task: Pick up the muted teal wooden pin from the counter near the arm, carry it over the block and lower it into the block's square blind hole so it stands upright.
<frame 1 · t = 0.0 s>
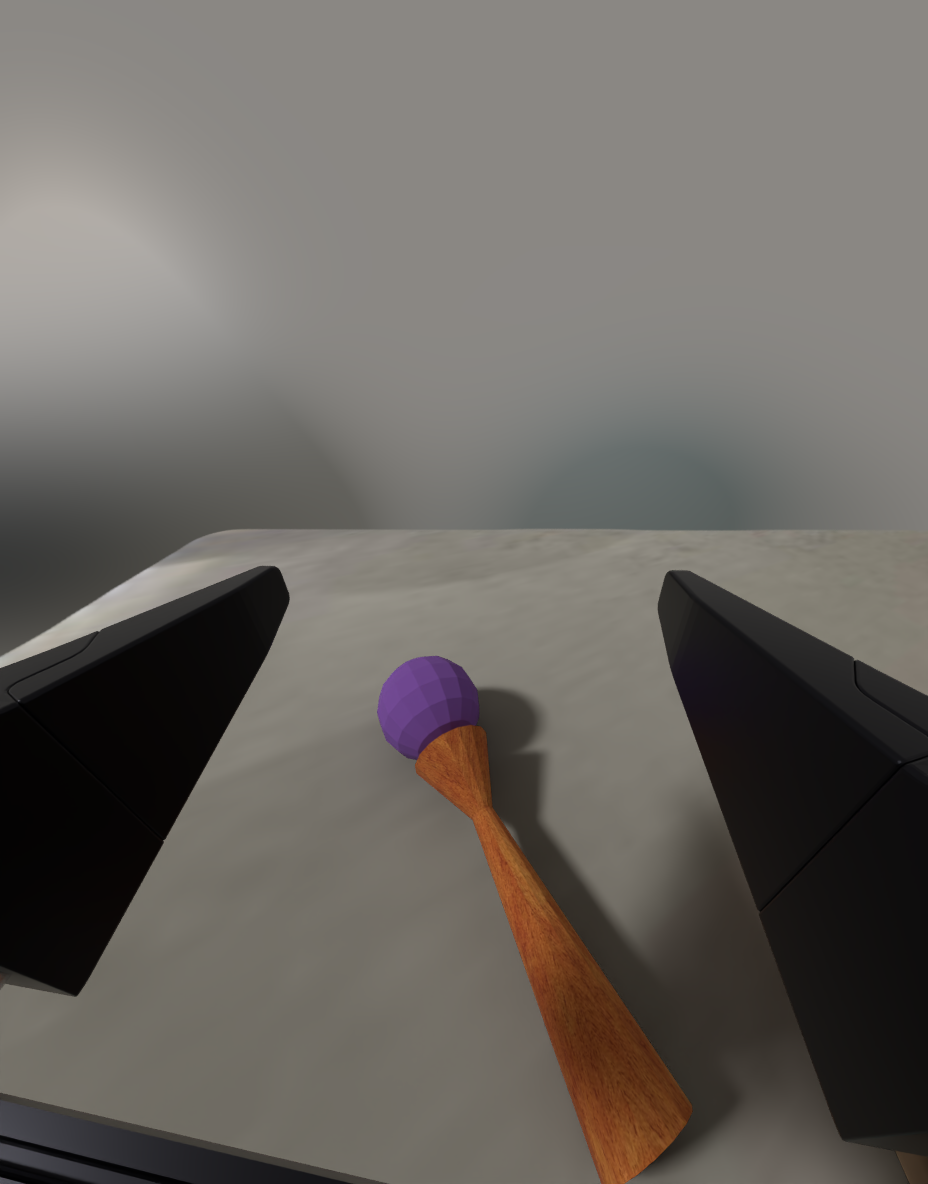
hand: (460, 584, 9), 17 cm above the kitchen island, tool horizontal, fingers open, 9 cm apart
wooden maraca: (487, 845, 20), on the kitchen island
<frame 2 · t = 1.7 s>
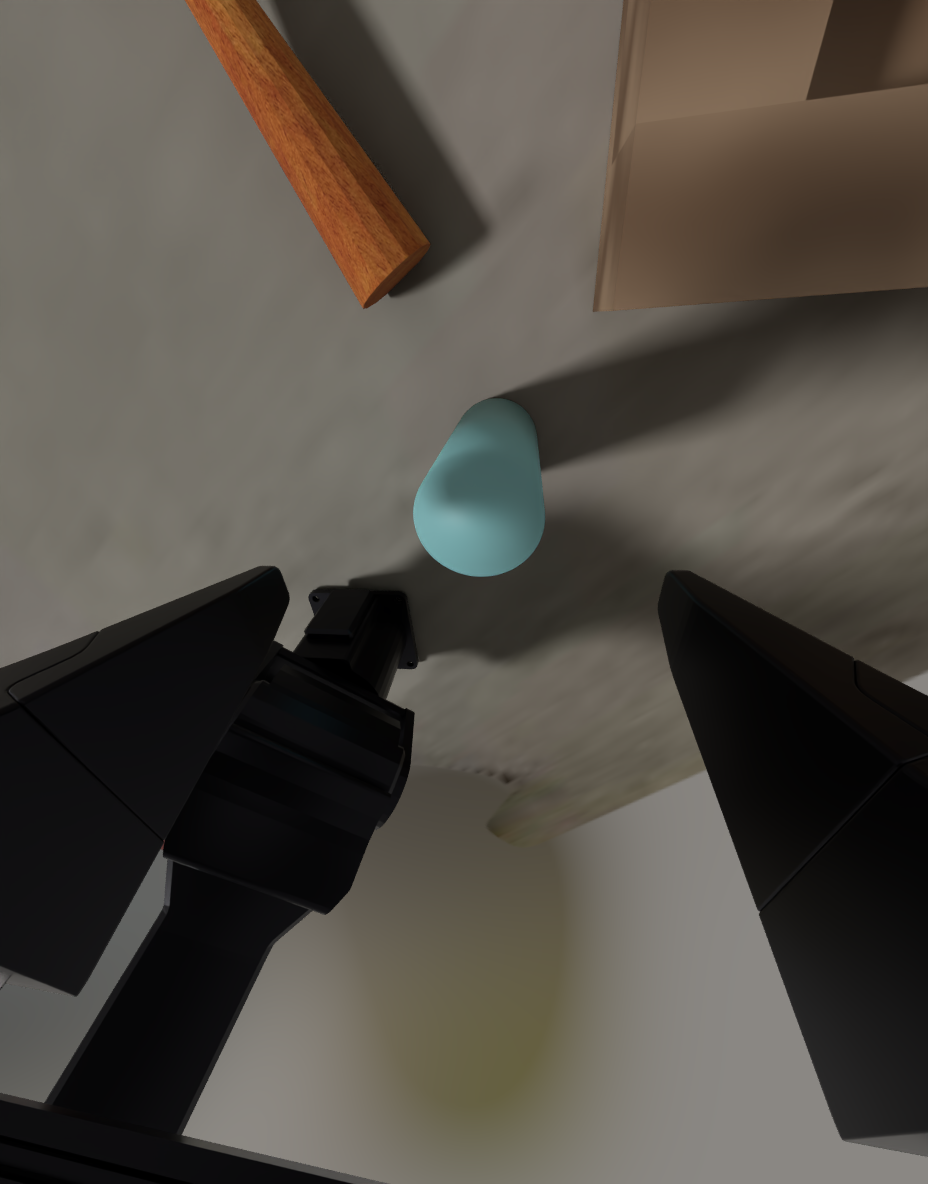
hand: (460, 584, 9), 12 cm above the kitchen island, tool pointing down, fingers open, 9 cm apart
hole block: (854, 17, 11), on the kitchen island
pin: (495, 443, 19), on the kitchen island
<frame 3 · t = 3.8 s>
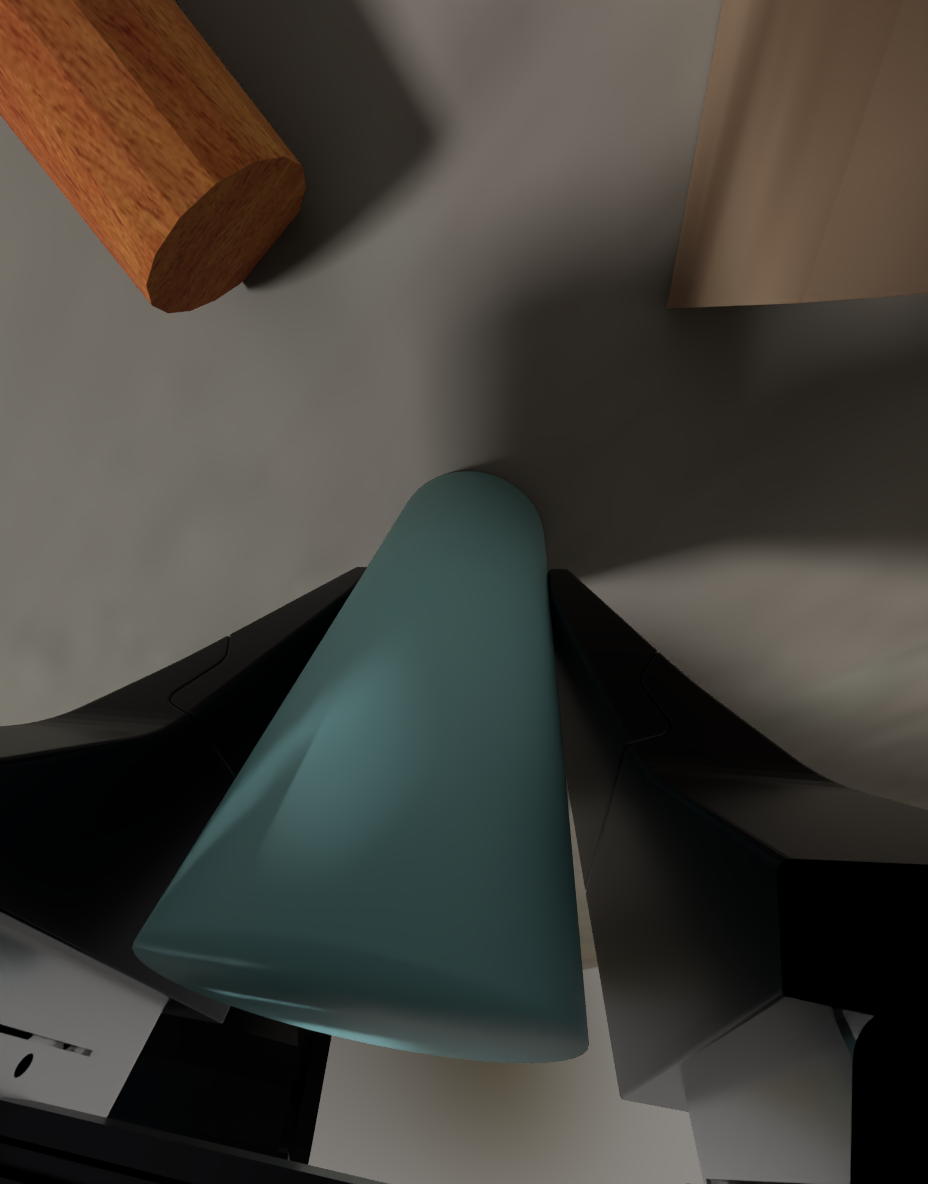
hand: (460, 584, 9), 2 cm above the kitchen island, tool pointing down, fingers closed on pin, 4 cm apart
pin: (470, 543, 11), on the kitchen island, touching gripper
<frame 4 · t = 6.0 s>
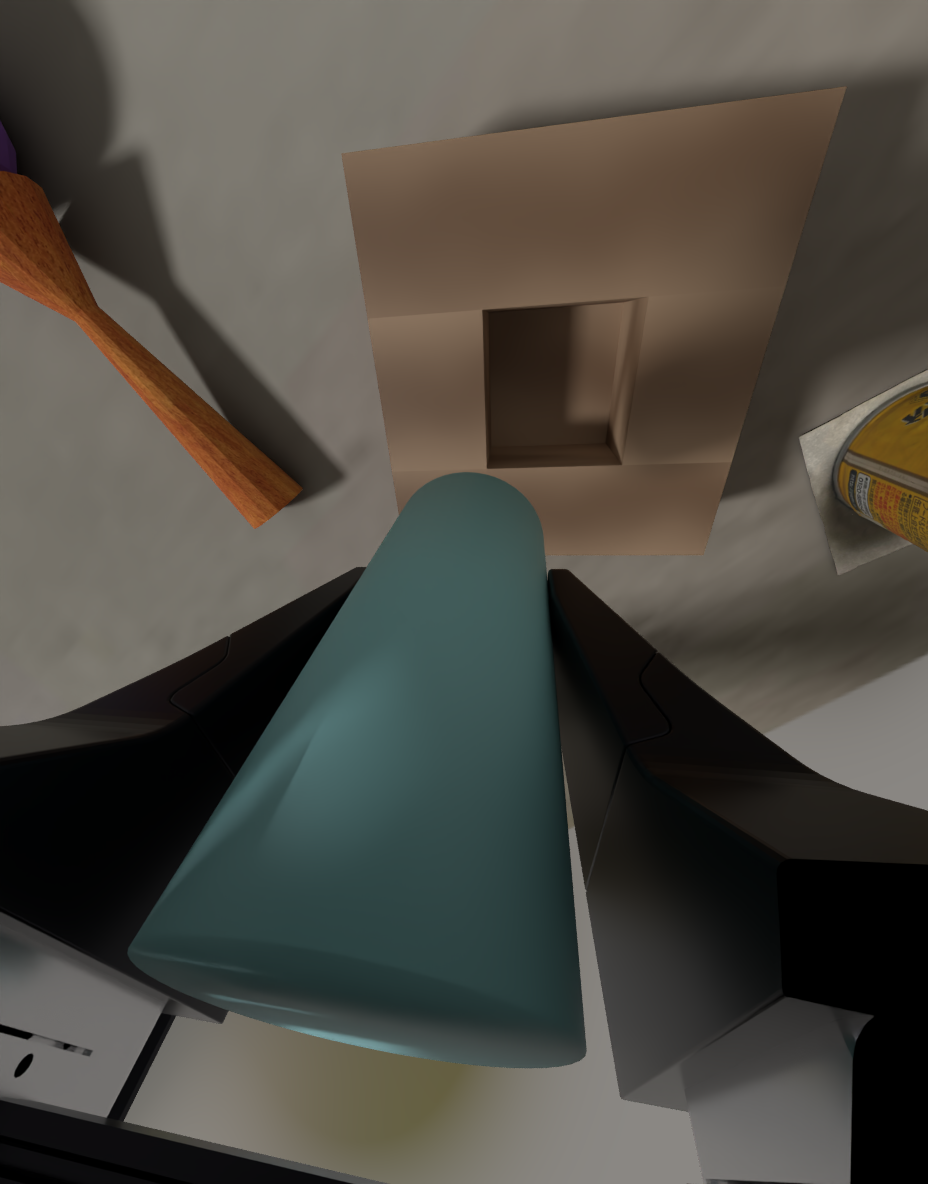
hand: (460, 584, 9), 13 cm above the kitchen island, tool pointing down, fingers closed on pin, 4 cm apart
hole block: (549, 379, 18), on the kitchen island
wooden maraca: (142, 322, 19), on the kitchen island
condiment: (904, 468, 18), on the kitchen island
pin: (469, 544, 11), point 11 cm above the kitchen island, touching gripper
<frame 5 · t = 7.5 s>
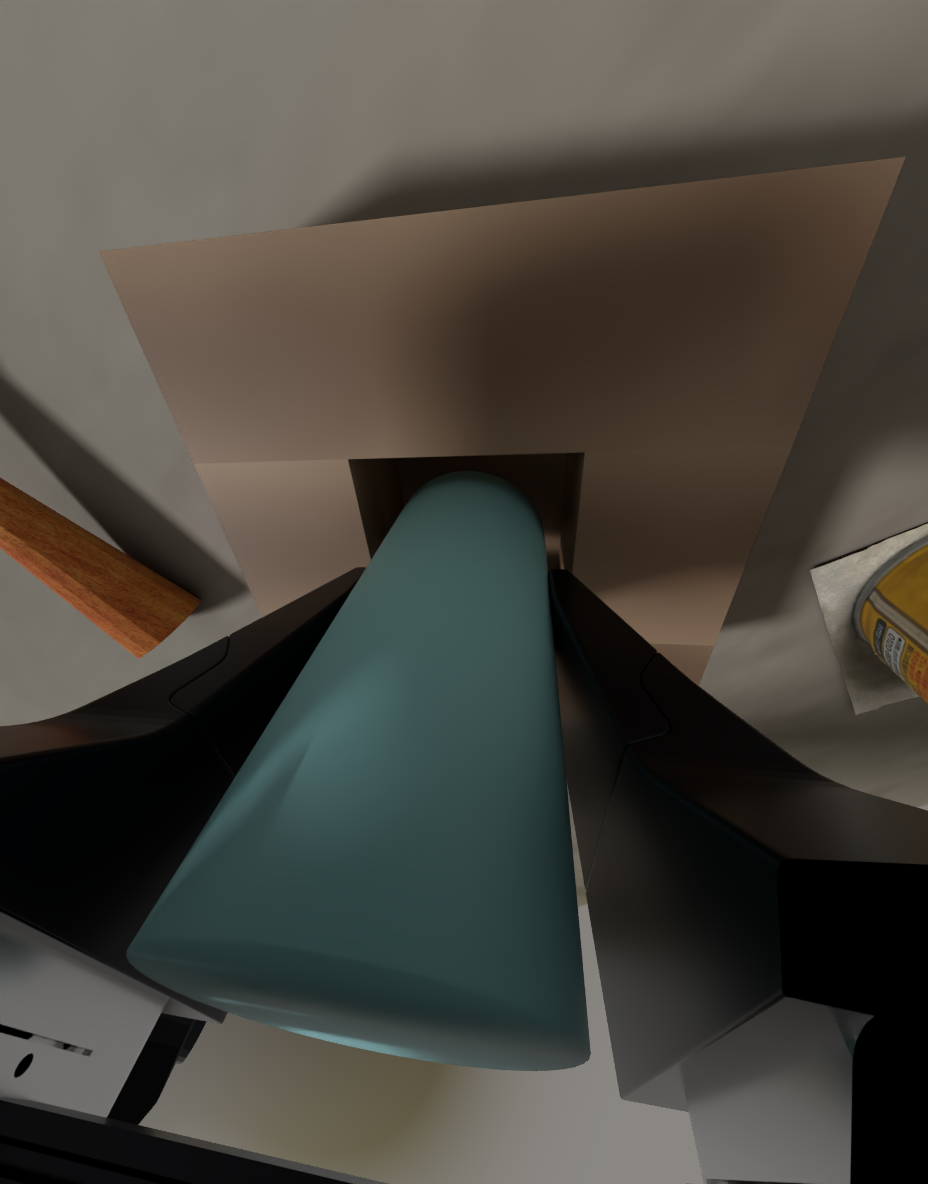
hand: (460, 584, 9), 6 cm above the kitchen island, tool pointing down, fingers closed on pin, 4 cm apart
hole block: (483, 494, 14), on the kitchen island
pin: (470, 543, 11), point 4 cm above the kitchen island, touching gripper
when the fingers open (5 cm above the kitchen island, at t = 8.6 s): pin drops 2 cm, resting on hole block.
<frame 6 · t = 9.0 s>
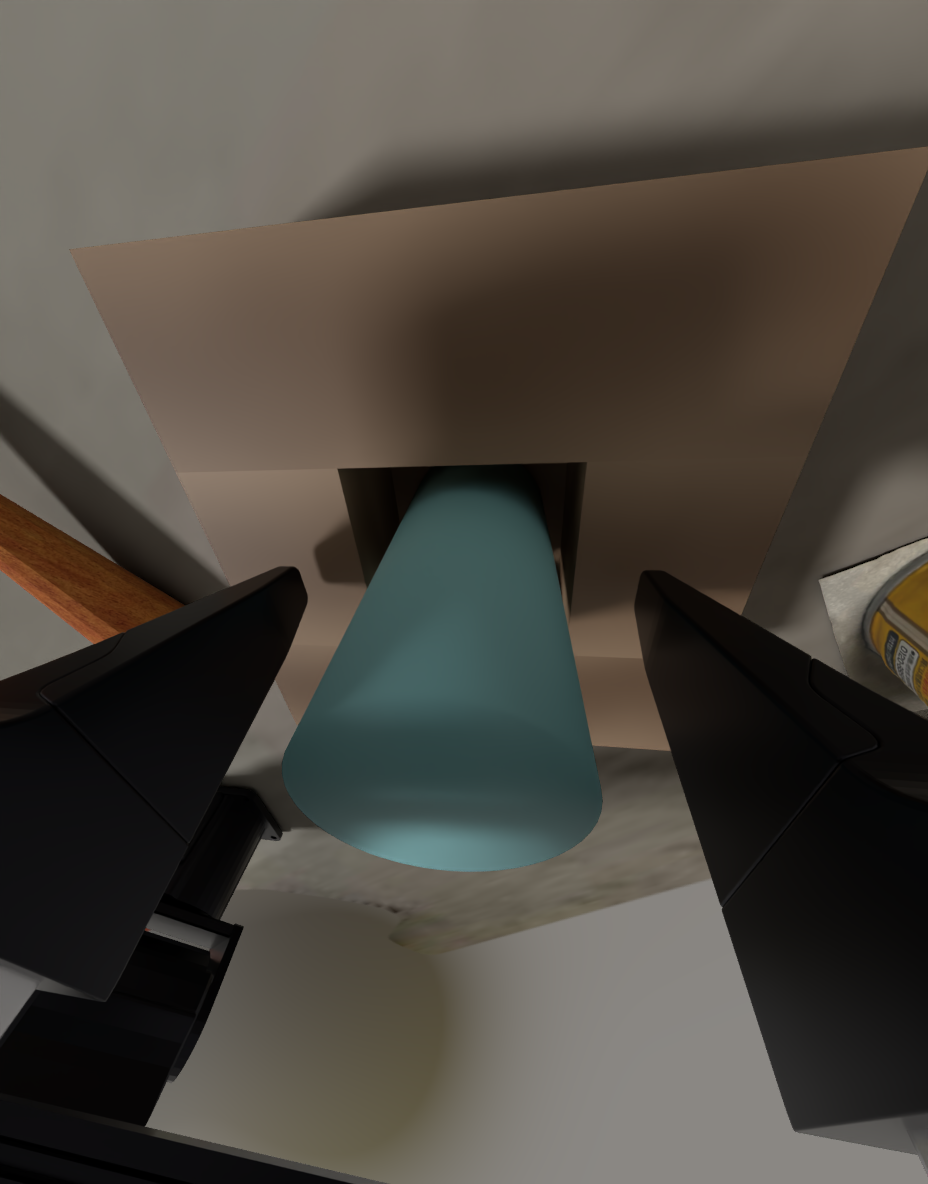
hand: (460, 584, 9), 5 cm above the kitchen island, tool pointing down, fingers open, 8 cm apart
hole block: (481, 501, 13), on the kitchen island
pin: (478, 514, 12), point 1 cm above the kitchen island, touching hole block
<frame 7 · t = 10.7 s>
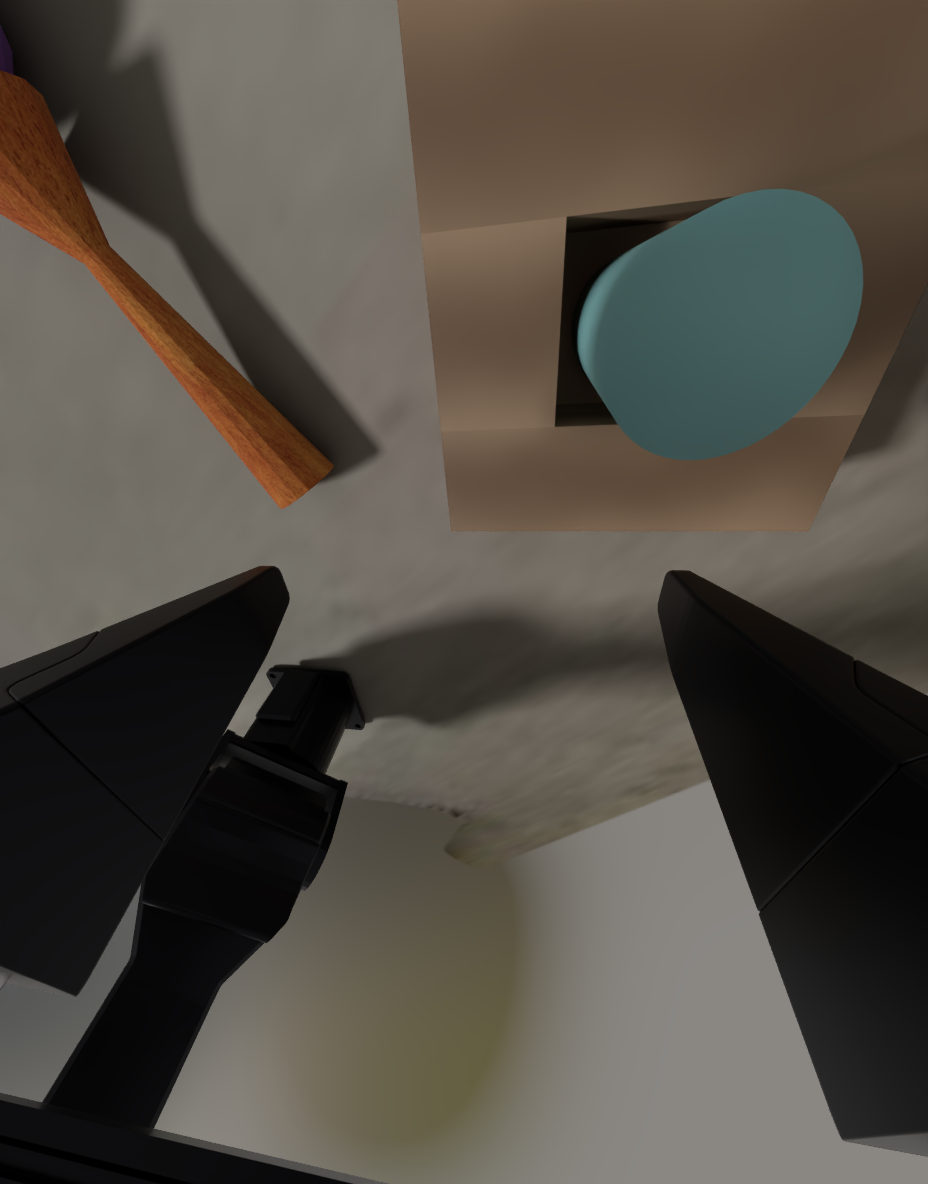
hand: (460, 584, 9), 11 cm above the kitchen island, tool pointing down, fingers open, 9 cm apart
hole block: (624, 321, 15), on the kitchen island
wooden maraca: (159, 268, 17), on the kitchen island
pin: (629, 322, 14), point 1 cm above the kitchen island, touching hole block
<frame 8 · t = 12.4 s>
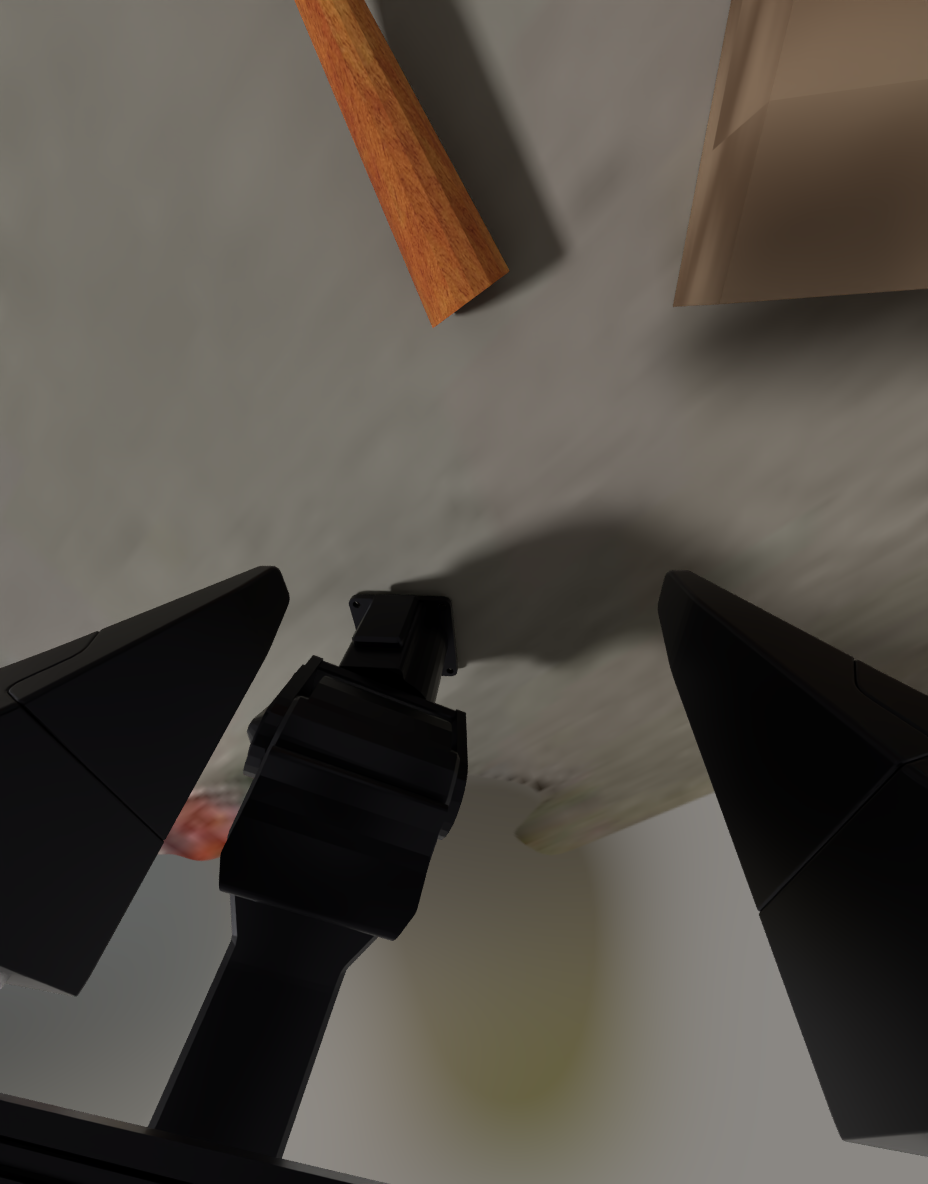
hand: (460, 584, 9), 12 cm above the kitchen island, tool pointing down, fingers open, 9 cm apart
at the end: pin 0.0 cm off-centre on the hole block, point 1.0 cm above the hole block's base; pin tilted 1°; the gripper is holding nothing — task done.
